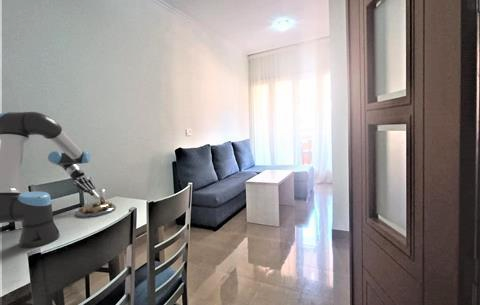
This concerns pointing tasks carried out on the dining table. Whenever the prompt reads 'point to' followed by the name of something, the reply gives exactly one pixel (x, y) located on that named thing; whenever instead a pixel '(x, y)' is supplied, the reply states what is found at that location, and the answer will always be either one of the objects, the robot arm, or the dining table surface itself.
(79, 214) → the grey plate
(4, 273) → the dining table surface
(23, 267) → the dining table surface
